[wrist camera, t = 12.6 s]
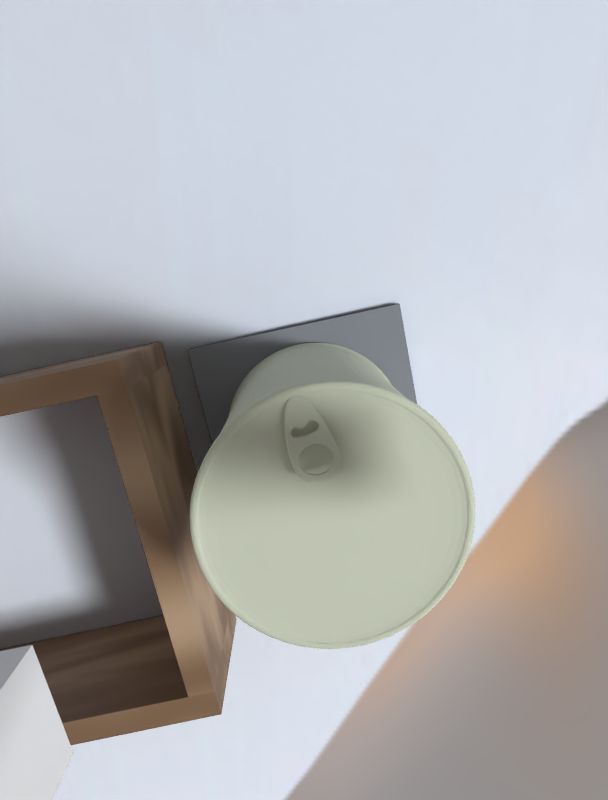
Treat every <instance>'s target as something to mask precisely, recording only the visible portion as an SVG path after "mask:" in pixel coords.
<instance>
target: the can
mask: <svg viewBox="0 0 608 800" xmlns="http://www.w3.org/2000/svg"><path fill="white" fill-rule="evenodd" d="M474 527H475V497H474V490H473V485H472V481H471V477H470V474H469V471H468V468H467V466H466V463H465V461H464V459H463V456H462V454H461V452H460V451H459V449H458V447H457V445H456V444H455V442H454V441H453V439H452V438H451V436H450V435H449V434H448V433H447V432H446V430H445V429H444V428H443V427H442V425H441V424H440V423H439V422H438V421H437V420H436V419H435V418H434V417H433V416H431V415H430V414H429V413H428V412H426V411H425V410H424V409H423V408H421V407H420V406H418V405H417V404H415V403H414V402H412V401H411V400H409V399H407V398H406V397H405V396H404V395H402V394H401V393H400V392H399V391H398V390H397V389H396V388H395V387H393V386H392V384H391V383H390V381H389V380H388V378H387V377H386V376H385V375H384V373H383V372H382V371H381V370H380V369H379V368H378V367H377V366H376V365H375V364H374V363H372V362H371V361H370V360H369V359H367V358H366V357H364V356H363V355H361V354H359V353H357V352H355V351H353V350H351V349H348V348H345V347H342V346H339V345H334V344H328V343H305V344H299V345H294V346H291V347H288V348H285V349H282V350H280V351H278V352H276V353H274V354H272V355H270V356H269V357H267V358H265V359H264V360H263V361H261V362H260V363H259V364H258V365H256V366H255V367H254V368H253V369H252V370H251V371H250V372H249V374H248V375H247V376H246V377H245V378H244V380H243V381H242V383H241V384H240V386H239V388H238V390H237V391H236V394H235V396H234V398H233V401H232V404H231V407H230V411H229V416H228V419H227V421H226V423H225V425H224V427H223V429H222V431H221V433H220V435H219V436H218V437H217V438H216V440H215V441H214V443H213V444H212V446H211V447H210V449H209V450H208V452H207V454H206V456H205V458H204V460H203V462H202V464H201V466H200V469H199V471H198V473H197V476H196V479H195V483H194V486H193V491H192V496H191V503H190V531H191V539H192V544H193V549H194V552H195V555H196V558H197V561H198V564H199V566H200V569H201V571H202V573H203V575H204V577H205V579H206V580H207V582H208V584H209V586H210V587H211V589H212V590H213V591H214V593H215V594H216V595H217V597H218V598H219V599H220V600H221V601H222V602H223V604H224V605H225V606H226V607H227V608H228V609H229V610H230V611H232V612H233V613H234V614H235V615H236V616H237V617H238V618H240V619H241V620H242V621H244V622H245V623H246V624H248V625H249V626H251V627H253V628H254V629H256V630H258V631H260V632H262V633H264V634H266V635H268V636H270V637H272V638H275V639H277V640H280V641H283V642H286V643H290V644H294V645H298V646H303V647H311V648H320V649H337V648H348V647H356V646H361V645H366V644H369V643H372V642H375V641H378V640H381V639H384V638H387V637H390V636H392V635H394V634H395V633H397V632H399V631H401V630H403V629H405V628H407V627H409V626H410V625H412V624H413V623H415V622H416V621H418V620H419V619H420V618H422V617H423V616H424V615H425V614H426V613H428V612H429V611H430V610H431V609H432V608H433V607H434V606H435V605H436V604H437V603H438V602H439V601H440V600H441V599H442V598H443V596H444V595H445V594H446V593H447V592H448V590H449V589H450V587H451V586H452V585H453V583H454V582H455V580H456V578H457V577H458V575H459V573H460V571H461V569H462V568H463V566H464V563H465V561H466V558H467V555H468V553H469V550H470V547H471V543H472V538H473V532H474Z"/></svg>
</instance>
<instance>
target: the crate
mask: <svg viewBox="0 0 608 800" xmlns="http://www.w3.org/2000/svg"><path fill="white" fill-rule="evenodd" d="M92 396H97V397H98V401H99V404H100V407H101V411H102V414H103V417H104V420H105V424H106V427H107V430H108V434H109V437H110V440H111V444H112V447H113V450H114V453H115V457H116V460H117V463H118V467H119V470H120V473H121V477H122V480H123V483H124V486H125V490H126V493H127V496H128V500H129V503H130V506H131V510H132V513H133V516H134V519H135V523H136V526H137V529H138V533H139V536H140V539H141V542H142V546H143V549H144V552H145V556H146V559H147V562H148V566H149V569H150V572H151V575H152V579H153V582H154V585H155V589H156V592H157V595H158V599H159V602H160V605H161V608H162V612H163V615H162V616H157V617H152V618H148V619H143V620H138V621H133V622H129V623H124V624H119V625H114V626H110V627H105V628H100V629H95V630H91V631H86V632H81V633H76V634H72V635H67V636H62V637H57V638H52V639H48V640H43V641H38V642H33V643H29V644H24V645H19V646H14V647H10V648H5V649H0V651H4V650H9V649H14V648H19V647H24V646H28V645H33V648H34V651H35V653H36V656H37V658H38V661H39V664H40V666H41V669H42V671H43V674H44V677H45V679H46V682H47V685H48V687H49V690H50V692H51V695H52V698H53V700H54V703H55V706H56V708H57V711H58V713H59V716H60V719H61V721H62V724H63V727H64V729H65V732H66V734H67V737H68V740H69V742H70V745H74V744H79V743H84V742H89V741H94V740H99V739H103V738H108V737H113V736H118V735H123V734H128V733H133V732H137V731H142V730H147V729H152V728H157V727H162V726H166V725H171V724H176V723H181V722H186V721H191V720H195V719H200V718H205V717H210V716H215V715H220V714H221V713H222V706H223V700H224V694H225V688H226V681H227V675H228V669H229V662H230V656H231V650H232V644H233V637H234V631H235V625H236V616H235V614H234V613H233V612H232V611H230V610H229V609H228V608H227V607H226V606H225V605H224V604H223V602H222V601H221V600H220V599H219V598H218V597H217V595H216V594H215V593H214V591H213V590H212V589H211V587H210V586H209V584H208V582H207V580H206V579H205V577H204V575H203V573H202V571H201V569H200V566H199V564H198V561H197V558H196V555H195V552H194V549H193V544H192V539H191V531H190V503H191V496H192V491H193V486H194V483H195V479H196V476H197V472H196V468H195V465H194V461H193V457H192V454H191V450H190V446H189V443H188V439H187V435H186V432H185V428H184V424H183V421H182V417H181V413H180V409H179V406H178V402H177V398H176V395H175V391H174V387H173V384H172V380H171V376H170V373H169V369H168V365H167V362H166V358H165V354H164V350H163V347H162V343H161V342H156V343H151V344H147V345H142V346H138V347H133V348H129V349H124V350H120V351H115V352H110V353H106V354H101V355H97V356H92V357H88V358H83V359H78V360H74V361H69V362H65V363H60V364H56V365H51V366H46V367H42V368H37V369H33V370H28V371H24V372H19V373H14V374H10V375H5V376H1V377H0V416H5V415H9V414H14V413H19V412H23V411H28V410H32V409H37V408H42V407H46V406H51V405H55V404H60V403H65V402H69V401H74V400H78V399H83V398H88V397H92Z"/></svg>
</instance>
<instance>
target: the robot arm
mask: <svg viewBox="0 0 608 800" xmlns="http://www.w3.org/2000/svg"><path fill="white" fill-rule="evenodd" d="M73 754H74V753H73V750H72V748H71V745H70V742H69V740H68V737H67V734H66V732H65V729H64V727H63V724H62V721H61V719H60V716H59V713H58V711H57V708H56V706H55V703H54V700H53V698H52V695H51V692H50V690H49V687H48V685H47V682H46V679H45V677H44V674H43V671H42V669H41V666H40V664H39V661H38V658H37V656H36V653H35V651H34V648H33V645H28V646H24V647H19V648H14V649H9V650H4V651H0V800H53V798H54V795H55V793H56V791H57V789H58V787H59V784H60V782H61V780H62V778H63V776H64V773H65V771H66V769H67V767H68V765H69V763H70V760H71V758H72V756H73Z"/></svg>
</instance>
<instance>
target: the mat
mask: <svg viewBox="0 0 608 800" xmlns="http://www.w3.org/2000/svg"><path fill="white" fill-rule="evenodd" d="M305 343H328V344H334V345H339V346H342V347H345V348H348V349H351V350H353V351H355V352H357V353H359V354H361V355H363V356H364V357H366V358H367V359H369V360H370V361H371V362H372V363H374V364H375V365H376V366H377V367H378V368H379V369H380V370H381V371H382V372H383V373H384V375H385V376H386V377H387V378H388V380H389V381H390V383H391V384H392V386H393V387H395V388H396V389H397V390H398V391H399V392H400V393H401V394H402V395H404V396H405V397H406V398H407V399H409V400H411V401H412V402H414V403H415V404H417V401H416V396H415V390H414V384H413V378H412V373H411V367H410V361H409V355H408V350H407V344H406V338H405V332H404V327H403V321H402V315H401V309H400V304H394V305H390V306H385V307H381V308H376V309H371V310H367V311H362V312H358V313H353V314H349V315H344V316H339V317H335V318H330V319H326V320H321V321H316V322H312V323H307V324H303V325H298V326H294V327H289V328H284V329H280V330H275V331H271V332H266V333H262V334H257V335H252V336H248V337H243V338H239V339H234V340H229V341H225V342H220V343H216V344H211V345H207V346H202V347H197V348H193V349H189V350H188V353H189V357H190V361H191V365H192V369H193V372H194V376H195V380H196V384H197V388H198V392H199V395H200V399H201V403H202V407H203V411H204V414H205V418H206V422H207V426H208V430H209V434H210V437H211V441H212V444H213V443H214V441H215V440H216V438H217V437H218V436H219V435H220V433H221V431H222V429H223V427H224V425H225V423H226V421H227V419H228V416H229V411H230V407H231V404H232V401H233V398H234V396H235V394H236V391H237V390H238V388H239V386H240V384H241V383H242V381H243V380H244V378H245V377H246V376H247V375H248V374H249V372H250V371H251V370H252V369H253V368H254V367H255V366H256V365H258V364H259V363H260V362H261V361H263V360H264V359H265V358H267V357H269V356H270V355H272V354H274V353H276V352H278V351H280V350H282V349H285V348H288V347H291V346H294V345H299V344H305Z"/></svg>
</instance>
